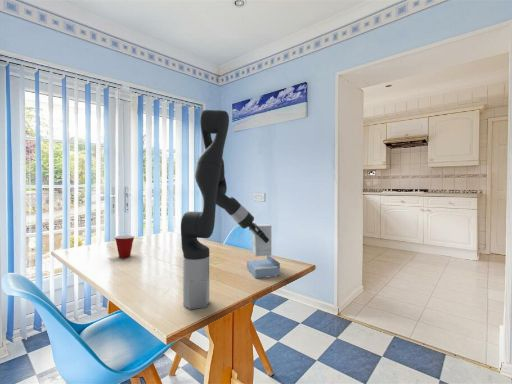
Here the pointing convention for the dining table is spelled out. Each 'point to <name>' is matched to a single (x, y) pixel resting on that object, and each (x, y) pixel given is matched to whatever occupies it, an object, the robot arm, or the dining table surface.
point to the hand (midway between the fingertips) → (265, 239)
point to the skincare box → (258, 244)
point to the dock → (264, 267)
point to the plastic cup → (124, 245)
